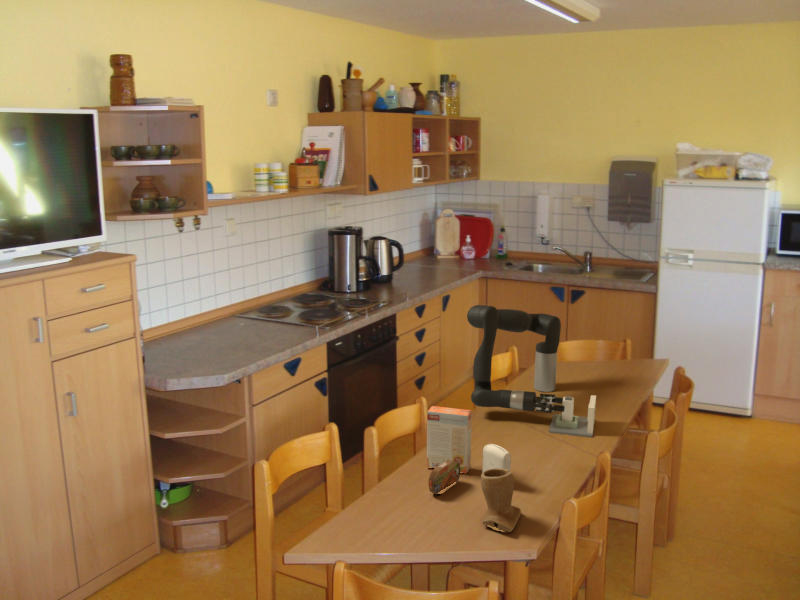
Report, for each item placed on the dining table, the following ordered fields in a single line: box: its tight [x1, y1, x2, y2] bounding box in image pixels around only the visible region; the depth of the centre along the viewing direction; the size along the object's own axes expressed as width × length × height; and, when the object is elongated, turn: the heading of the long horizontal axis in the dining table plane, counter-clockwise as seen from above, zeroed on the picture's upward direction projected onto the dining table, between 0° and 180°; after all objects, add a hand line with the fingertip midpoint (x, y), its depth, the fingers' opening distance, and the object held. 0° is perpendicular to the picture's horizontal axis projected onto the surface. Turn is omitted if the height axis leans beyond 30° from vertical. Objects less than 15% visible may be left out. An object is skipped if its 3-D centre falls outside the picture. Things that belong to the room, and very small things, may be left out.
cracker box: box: [426, 405, 473, 474], centre depth 260 cm, size 14×6×21 cm, turn 71°
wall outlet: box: [548, 394, 597, 438], centre depth 298 cm, size 18×16×11 cm
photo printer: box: [482, 443, 512, 473], centre depth 252 cm, size 10×4×12 cm, turn 39°
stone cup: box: [480, 468, 522, 533], centre depth 227 cm, size 15×12×15 cm
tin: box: [428, 460, 461, 495], centre depth 247 cm, size 15×3×8 cm, turn 143°
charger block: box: [561, 395, 575, 422], centre depth 298 cm, size 4×4×11 cm
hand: (565, 405), depth 298 cm, fingers open, 8 cm apart
